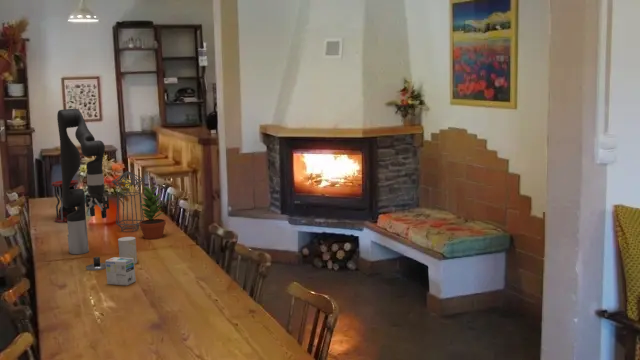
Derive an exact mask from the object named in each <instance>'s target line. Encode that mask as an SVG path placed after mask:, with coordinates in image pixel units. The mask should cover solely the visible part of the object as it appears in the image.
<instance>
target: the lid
mask: <svg viewBox="0 0 640 360" xmlns="http://www.w3.org/2000/svg"><path fill="white" fill-rule="evenodd" d="M100 258H101V257H100V256H94V257H93V258H92V259H93V261H92V262H93V263H91V264H87V265H86V266H85V268H86V271H94V272H95V271H102V270H106V263H105V262H101V259H100Z"/></svg>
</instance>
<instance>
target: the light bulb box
mask: <svg viewBox="0 0 640 360" xmlns="http://www.w3.org/2000/svg"><path fill="white" fill-rule="evenodd" d="M104 263H106V269H105V273H106V283H107V285H115V286H116V285H117V286H118V285H119V286H129V285H131V284H133V283H135V282H136V281H137V280H136V269H135V264H134V258H119V256H118V257H116V256H114V257H111V258H109V259H108V258H107V259H106V260H105V262H104Z"/></svg>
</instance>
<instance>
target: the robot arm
mask: <svg viewBox="0 0 640 360" xmlns="http://www.w3.org/2000/svg"><path fill="white" fill-rule="evenodd" d="M56 114H57V116H56V119H57V128H58V134H59V135H58V136H59V145H60V146H59V148H60V152H59V153H60V168H61V181H62V202H63V206H64V207H65V208H71V207H75V208H76V211H74V212H73V213H70V214H69V215H67V223H66V224H67V230H68V234H67V244H68V252H69V253H70V254H71V255H83V254H87V253H89V250H90V249H89V238H88V236H89V235H88V226H87V225H88V224H87V215H86V208H88V209H89V217H95V216H96V210H95V209H96V208H95V207H96V206H98V207H99V208H100V213H101V219H106V218H107V216H108V215H107V210H109V209H110V201H109V196H108V195H107V196H104V193H106V189H105V179H104V178H105V177H104V174H103V173H104V171H103V162H104V161H103V160H104V157H105V156H104V155H105V151H106V147H105V143H104V142H103V141H102V140H99V139H98V140H95V137H94V135H93V134H92V133H91V131H90V130H89V128H88V126H87V123H86V121H85V118H84V117H83V114H82V112H81V111H80V110H79V108H65V109H64V108H63V109H59V110H58V111H57V113H56ZM69 128H76V130H75V138H76V140H77V142H78V143H79V145H80V149H81V154H82V155H83V156H85V157H95V158H94V159H93V160H90V161H87V162H86V184H87V192H88V194H86V195H85V190H83V189H82V188H77V189H75V188H74V189H71V190H69V187H70V183H71V181H72V180H74V177H75V176H76V174H77V173H78V171H79V169H80V166H81V154H80V151H79V149H78V147H77V146H76V145H75V143H74V142H73V141H72V139H71V138H70V136H69V134H68V130H67V129H69ZM77 207H78V209H77Z"/></svg>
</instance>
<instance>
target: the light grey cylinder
mask: <svg viewBox="0 0 640 360" xmlns="http://www.w3.org/2000/svg"><path fill="white" fill-rule="evenodd" d="M117 242H118V243H117V244H118V253H119V255H118V258H134V265H135V264H137V263H138V259H137V258H138V256H137V255H138V253H137V240H136V237H134V236H124V237H120V238H118V239H117Z"/></svg>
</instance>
